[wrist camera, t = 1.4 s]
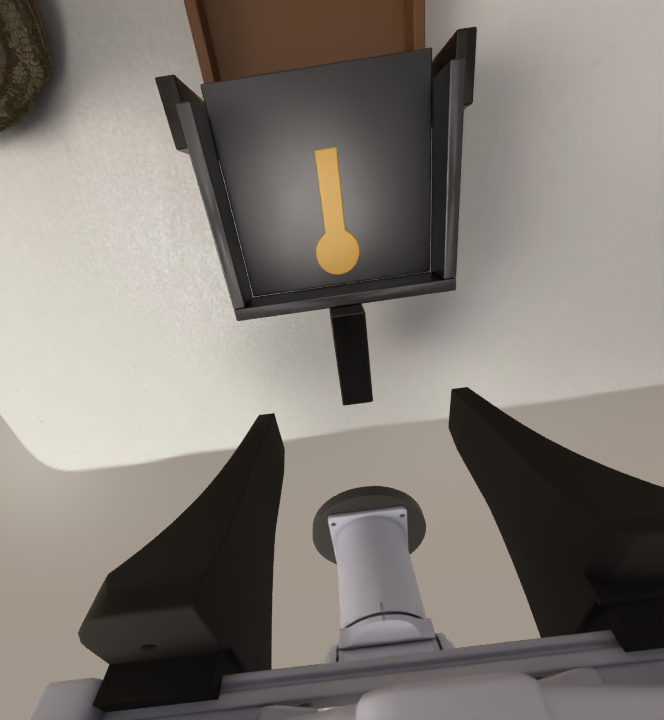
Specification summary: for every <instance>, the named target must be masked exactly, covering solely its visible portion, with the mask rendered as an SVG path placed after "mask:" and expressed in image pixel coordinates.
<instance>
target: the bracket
mask: <svg viewBox="0 0 664 720" xmlns="http://www.w3.org/2000/svg"><path fill="white" fill-rule="evenodd" d="M476 34H477V28H476V27H470V28H464V29H458V30H457V31H456V32H455V33H454V35H453V36H452V37H451V38H450V40H449V41H448V42H447V43H446V45H445V46H444V47H443V48H442V49H441V51H440V52H439V53H438V54H437V56H436V57H435V58H434V59H433V61H432V110H431V127H432V113H433V78H434V77H435V76H436V75H437V74H438V73H439V72H440V71H441V70H442V69H443V68H444V67H445V65H446V64H447V63H448V62H449V61H450V60H451V59H457V58H463V57H465V58H466V71H465V93H464V109H465V108H466V107H468V106H470V105H471V104H472V102H473V88H474V70H475V52H476ZM155 80H156V83H157V86H158V90H159V93H160V96H161V100H162V103H163V106H164V110H165V113H166V116H167V120H168V123H169V127H170V130H171V133H172V137H173V140H174V143H175V147H176V149H177V150H179V151H182V152H184V153H187V154H189V150H188V147H187V143H186V140H185V136H184V133H183V129H182V126H181V122H180V119H179V115H178V112H177V108H176V103H178V102H185V101H191V102H192V103H193V104H194V105H196V106H197V107H198V108H199V109H201V110H202V111H203V112H204V113H206V114H207V110H206V106H205V102H204V101H203V100H202V99H201V98H199V97H198V96H197V95H196V94H195V93H194V92H193V91H192V90H191V89H189V88H188V87H187V86H186V85H185V84H184V83H183V82H182V81H181V80H180V79H178V78H177V77H176V76H175V75H168V76H162V77H156V78H155ZM207 117H208V114H207ZM208 121H209V118H208ZM209 125H210V122H209ZM210 129H211V126H210ZM211 133H212V130H211ZM212 137H213V134H212ZM213 141H214V138H213ZM214 145H215V142H214ZM215 149H216V146H215ZM216 153H217V150H216ZM189 155H190V154H189ZM217 157H218V153H217ZM218 160H219V157H218Z"/></svg>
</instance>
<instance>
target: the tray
mask: <svg viewBox="0 0 664 720" xmlns="http://www.w3.org/2000/svg"><path fill="white" fill-rule="evenodd" d="M184 3H185V7H186V12H187V16H188V20H189V24H190V28H191V32H192V36H193V40H194V44H195V48H196V52H197V56H198V60H199V64H200V68H201V73H202V77H203V81H204V84H205V83H211V82H217V81H224V80H230V79H236V78H242V77H249V76H255V75H261V74H268V73H274V72H280V71H286V70H293V69H299V68H305V67H312V66H318V65H324V64H330V63H337V62H343V61H349V60H356V59H362V58H368V57H375V56H381V55H387V54H393V53H400V52H406V51H412V50H419V49H425V0H184Z"/></svg>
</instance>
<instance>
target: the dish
mask: <svg viewBox="0 0 664 720" xmlns="http://www.w3.org/2000/svg"><path fill="white" fill-rule="evenodd" d="M465 71H466V58H465V57H463V58H457V59H451V60H450V61H449V62H448V63H447V64H446V65H445V67H444V68H443V69H442V70H441V71H440V72H439V73H438V74H437V75H436V76H435V77H434V78H433V113H432V213H431V110H432V48H425V49H419V50H412V51H406V52H400V53H393V54H387V55H381V56H375V57H368V58H362V59H356V60H349V61H343V62H337V63H330V64H324V65H318V66H312V67H305V68H299V69H293V70H286V71H280V72H274V73H268V74H261V75H255V76H249V77H242V78H236V79H230V80H224V81H217V82H211V83H205V84H201V90H202V94H203V98H204V102H205V106H206V110H207V114H208V117H207V114H206V113H204V112H203V111H202V110H201V109H199V108H198V107H197V106H196V105H194V104H193V103H192V102H191V101H185V102H178V103H176V108H177V112H178V115H179V119H180V122H181V126H182V129H183V133H184V136H185V140H186V143H187V147H188V150H189V154H190V157H191V161H192V164H193V168H194V171H195V175H196V178H197V182H198V185H199V189H200V192H201V196H202V199H203V203H204V206H205V210H206V213H207V217H208V220H209V224H210V228H211V231H212V235H213V238H214V242H215V245H216V249H217V252H218V256H219V259H220V263H221V266H222V270H223V273H224V277H225V280H226V284H227V287H228V291H229V294H230V298H231V301H232V305H233V308H234V312H235V316H236V319H237V321H242V320H249V319H256V318H263V317H270V316H277V315H284V314H291V313H298V312H305V311H312V310H319V309H326V308H329V309H330V318H331V325H332V332H333V339H334V346H335V353H336V360H337V367H338V374H339V381H340V388H341V395H342V402H343V405H351V404H359V403H366V402H372V401H373V395H372V384H371V373H370V361H369V350H368V339H367V328H366V316H365V311H364V309H363V306H362V304H361V303H368V302H376V301H383V300H390V299H397V298H404V297H411V296H418V295H425V294H432V293H439V292H446V291H453V290H456V278H455V277H456V267H457V245H458V223H459V202H460V180H461V158H462V137H463V115H464V93H465ZM208 118H209V121H208ZM209 122H210V125H209ZM210 126H211V129H210ZM211 130H212V133H211ZM212 134H213V137H212ZM213 138H214V141H213ZM214 142H215V145H214ZM215 146H216V149H215ZM332 147H337V155H338V164H339V174H340V183H341V193H342V202H343V212H344V221H345V230H347V231H349V232H350V233H351V234H352V235H353V236H354V237H355V238H356V240H357V242H358V244H359V249H360V253H359V259H358V261H357V263H356V265H355V266H354V267H353V268H352V269H351V270H350V271H349V272H347V273H344V274H340V275H335V274H331V273H328V272H326V271H325V270H324V269H323V268H322V267H321V266H320V265H319V263H318V261H317V257H316V246H317V243H318V240H319V239H320V237H321V236H322V235H323V234H324V233H325V229H324V221H323V214H322V206H321V199H320V191H319V184H318V176H317V168H316V161H315V153H314V151H315V150H319V149H325V148H332ZM216 150H217V153H218V157H219V160H218V157H217V153H216ZM219 161H220V164H219ZM220 165H221V168H220ZM221 169H222V172H221ZM222 173H223V176H222ZM223 177H224V180H223ZM224 181H225V184H224ZM225 185H226V188H225ZM226 189H227V192H226ZM227 193H228V196H227ZM228 197H229V200H228ZM229 201H230V204H229ZM230 205H231V208H230ZM231 209H232V212H231ZM232 213H233V216H232ZM233 217H234V220H233ZM234 221H235V224H234ZM430 224H431V272H429V271H430ZM235 225H236V228H235ZM236 229H237V232H236ZM237 233H238V236H237ZM238 237H239V240H238ZM239 241H240V244H239ZM240 245H241V248H240ZM241 249H242V252H241ZM242 253H243V256H242ZM243 257H244V260H243ZM244 261H245V264H244ZM245 265H246V268H245ZM246 269H247V272H246ZM422 272H426V273H422ZM247 273H248V276H247ZM415 273H419V274H415ZM409 274H412V275H409ZM402 275H405V276H402ZM395 276H398V277H395ZM248 277H249V279H248ZM388 277H391V278H388ZM381 278H384V279H381ZM374 279H377V280H374ZM367 280H370V281H367ZM249 281H250V283H249ZM360 281H363V282H360ZM353 282H356V283H353ZM346 283H349V284H346ZM339 284H342V285H339ZM250 285H251V287H250ZM332 285H336V286H332ZM325 286H329V287H325ZM318 287H322V288H318ZM311 288H315V289H311ZM251 289H252V291H251ZM304 289H308V290H304ZM297 290H301V291H297ZM290 291H294V292H290ZM283 292H287V293H283ZM252 293H253V295H252ZM276 293H280V294H276ZM269 294H273V295H269ZM262 295H266V296H262ZM253 296H254V297H253ZM255 296H259V297H255Z"/></svg>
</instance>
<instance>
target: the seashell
mask: <svg viewBox="0 0 664 720" xmlns="http://www.w3.org/2000/svg"><path fill="white" fill-rule="evenodd" d="M51 77H52V61H51V52H50V46H49V42H48V38H47V35H46V30H45V27H44V25H43V22H42V19H41V16H40V13H39V11H38V8H37V6H36V4H35V1H34V0H0V132H2V131H4V130H6V129H7V128H9V127H12V126H14V125H15V124H17V123H18V122H19V121H20V120H21V118H22V117H23V116H25V115H26V114H27V113H28V112H29V111H31V110H32V108H33V107H34V105H35V98H36V96H37V95H38V93H39V91H40V90H41V88H42V87H43V86H44V84H45V83H46V82H47V81H49V80H50V78H51Z"/></svg>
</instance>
